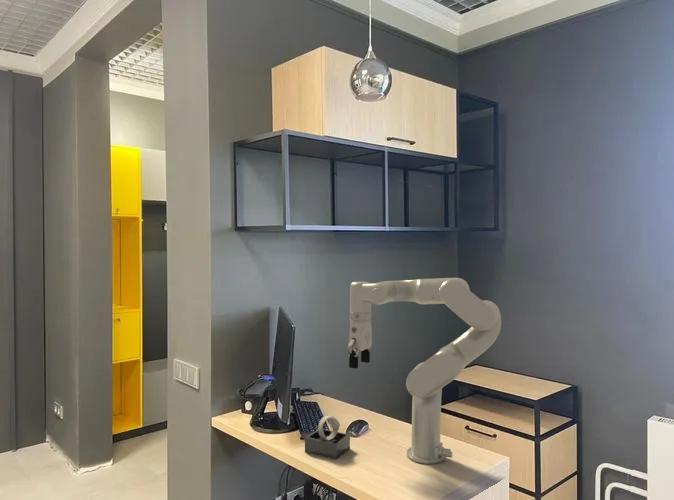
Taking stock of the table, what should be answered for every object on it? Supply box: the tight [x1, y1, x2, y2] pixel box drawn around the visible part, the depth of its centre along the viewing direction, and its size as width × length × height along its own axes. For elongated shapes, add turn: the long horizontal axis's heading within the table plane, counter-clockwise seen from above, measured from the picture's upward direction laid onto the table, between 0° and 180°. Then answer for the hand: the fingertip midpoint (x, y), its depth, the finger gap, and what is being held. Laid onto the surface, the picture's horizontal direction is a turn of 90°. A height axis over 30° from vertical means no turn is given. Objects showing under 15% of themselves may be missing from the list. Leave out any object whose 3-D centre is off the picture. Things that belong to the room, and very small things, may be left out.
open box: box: [304, 428, 351, 460], centre depth 177 cm, size 12×10×5 cm
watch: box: [317, 414, 341, 443], centre depth 176 cm, size 6×8×11 cm
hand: (359, 365), depth 182 cm, fingers open, 9 cm apart
